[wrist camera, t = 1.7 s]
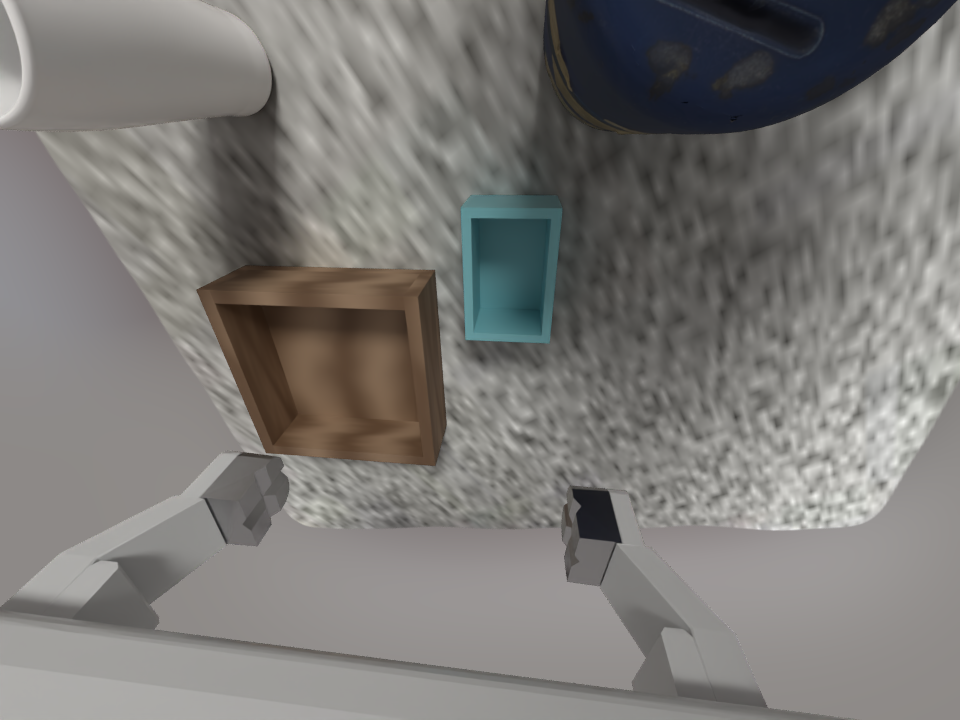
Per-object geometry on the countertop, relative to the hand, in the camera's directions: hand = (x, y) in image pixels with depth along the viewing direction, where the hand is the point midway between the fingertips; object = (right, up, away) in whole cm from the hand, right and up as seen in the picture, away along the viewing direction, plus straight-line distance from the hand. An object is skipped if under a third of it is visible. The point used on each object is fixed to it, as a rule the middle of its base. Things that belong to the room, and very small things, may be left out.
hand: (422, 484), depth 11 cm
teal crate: (+4, +11, +18) cm, 22 cm away
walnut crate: (-10, +4, +24) cm, 26 cm away
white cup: (-14, +22, +14) cm, 30 cm away
